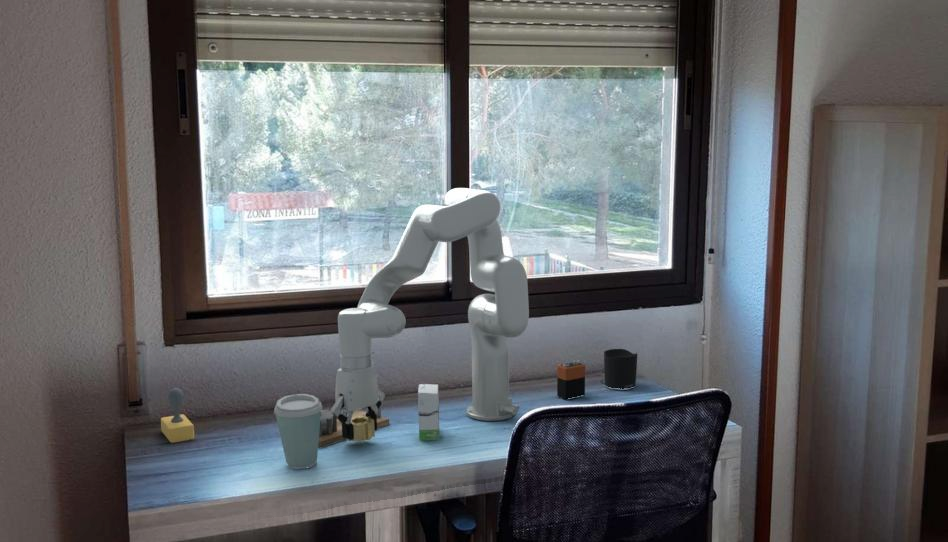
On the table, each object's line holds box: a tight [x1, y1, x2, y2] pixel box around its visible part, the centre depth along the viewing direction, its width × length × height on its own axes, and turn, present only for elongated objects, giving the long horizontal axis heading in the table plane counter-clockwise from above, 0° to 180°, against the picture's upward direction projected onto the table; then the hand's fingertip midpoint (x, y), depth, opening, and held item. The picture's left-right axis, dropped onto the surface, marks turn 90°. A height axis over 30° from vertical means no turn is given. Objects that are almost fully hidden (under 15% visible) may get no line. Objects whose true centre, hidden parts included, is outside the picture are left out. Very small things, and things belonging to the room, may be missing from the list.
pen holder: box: [603, 348, 638, 389], centre depth 268 cm, size 9×9×10 cm
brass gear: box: [347, 416, 376, 443], centre depth 223 cm, size 7×7×4 cm
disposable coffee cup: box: [273, 393, 323, 470], centre depth 209 cm, size 11×11×15 cm
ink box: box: [417, 383, 440, 441], centre depth 229 cm, size 9×5×12 cm, turn 2°
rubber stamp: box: [160, 387, 195, 444], centre depth 230 cm, size 10×6×12 cm, turn 30°
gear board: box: [318, 405, 390, 448], centre depth 233 cm, size 13×22×7 cm, turn 139°
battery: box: [556, 359, 586, 400], centre depth 259 cm, size 4×7×10 cm, turn 123°
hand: (360, 433), depth 223 cm, fingers closed on brass gear, 6 cm apart
